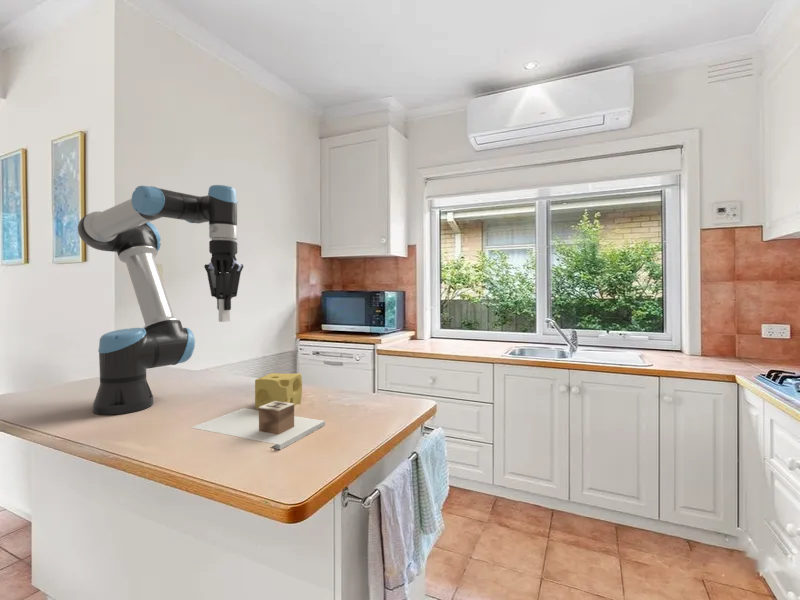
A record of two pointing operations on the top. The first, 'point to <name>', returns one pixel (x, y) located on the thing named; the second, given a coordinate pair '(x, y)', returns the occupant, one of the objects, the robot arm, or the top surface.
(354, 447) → the top surface
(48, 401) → the top surface
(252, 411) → the cutting board
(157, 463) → the top surface
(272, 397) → the cheese
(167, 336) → the robot arm
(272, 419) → the walnut block
